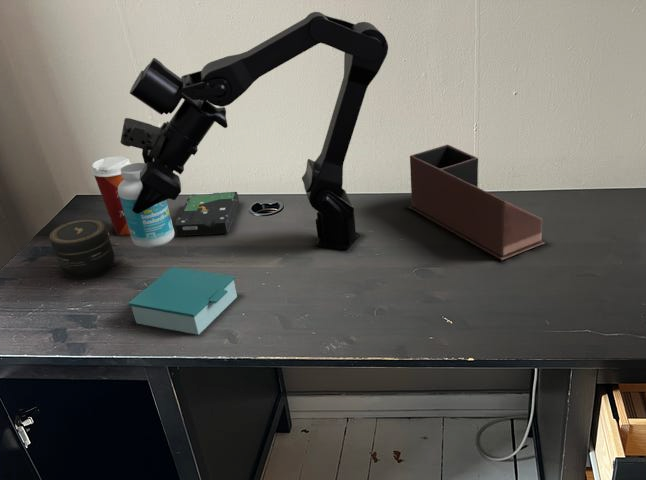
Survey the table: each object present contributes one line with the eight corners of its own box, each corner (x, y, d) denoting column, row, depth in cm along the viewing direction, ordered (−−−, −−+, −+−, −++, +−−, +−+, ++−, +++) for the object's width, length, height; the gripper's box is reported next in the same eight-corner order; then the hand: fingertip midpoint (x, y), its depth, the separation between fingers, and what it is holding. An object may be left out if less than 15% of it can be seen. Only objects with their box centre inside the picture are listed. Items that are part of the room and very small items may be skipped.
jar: (95, 250, 142) (84, 214, 138) (128, 263, 138) (117, 225, 133) (50, 272, 136) (36, 235, 131) (83, 286, 131) (69, 248, 127)
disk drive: (229, 234, 145) (239, 202, 157) (227, 222, 144) (237, 190, 156) (177, 238, 145) (191, 205, 157) (174, 225, 144) (188, 193, 156)
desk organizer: (448, 194, 156) (448, 142, 149) (545, 244, 136) (549, 186, 129) (408, 208, 151) (405, 155, 144) (501, 262, 131) (503, 203, 124)
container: (244, 297, 125) (240, 277, 123) (205, 337, 116) (200, 315, 114) (177, 286, 130) (172, 266, 127) (134, 323, 120) (128, 303, 118)
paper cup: (137, 238, 146) (118, 170, 138) (102, 236, 147) (81, 169, 139) (155, 220, 152) (138, 155, 144) (122, 219, 153) (102, 154, 145)
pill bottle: (153, 253, 127) (132, 179, 119) (124, 244, 131) (101, 172, 123) (184, 235, 132) (166, 163, 124) (155, 227, 136) (136, 156, 128)
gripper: (143, 85, 125) (96, 157, 130) (139, 118, 111) (86, 198, 115) (200, 124, 131) (153, 192, 136) (203, 161, 117) (150, 235, 121)
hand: (135, 202), depth 127 cm, fingers closed on pill bottle, 7 cm apart
